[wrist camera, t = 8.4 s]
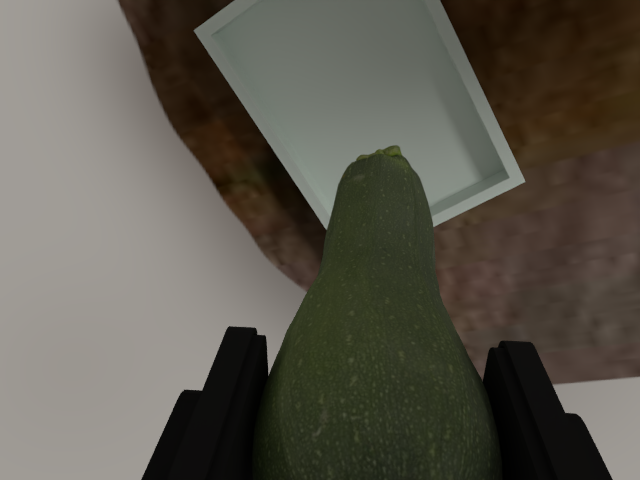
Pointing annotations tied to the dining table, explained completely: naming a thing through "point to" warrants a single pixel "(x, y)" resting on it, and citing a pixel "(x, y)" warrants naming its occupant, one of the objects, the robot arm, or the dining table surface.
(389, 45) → the tray
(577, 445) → the robot arm
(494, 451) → the vegetable
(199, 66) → the dining table surface
